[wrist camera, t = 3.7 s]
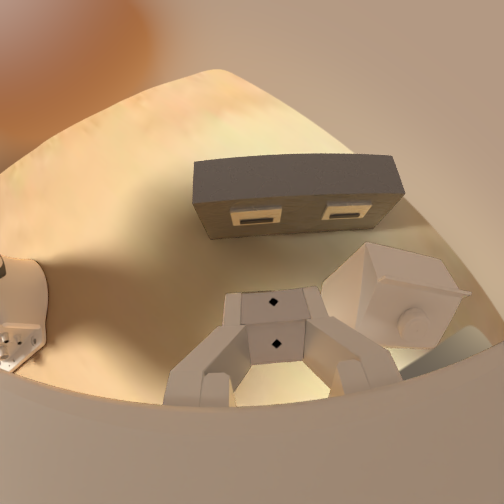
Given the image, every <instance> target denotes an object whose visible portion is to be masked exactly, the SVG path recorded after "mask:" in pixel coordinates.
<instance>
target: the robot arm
mask: <svg viewBox="0 0 504 504" xmlns="http://www.w3.org/2000/svg"><path fill="white" fill-rule="evenodd" d="M47 306H48V289H47V282H46V278H45V275H44V272H43V270H42V268H41V267H40V265H39V264H38V263H37V262H36V261H34V260H31V259H17V258H11V257H7V256H3V255H0V504H504V341H502V342H500V343H498V344H496V345H494V346H492V347H490V348H488V349H487V350H484V351H482V352H480V353H478V354H475V355H473V356H471V357H469V358H466V359H464V360H462V361H459V362H456V363H454V364H452V365H449V366H446V367H443V368H441V369H438V370H435V371H432V372H429V373H427V374H424V375H420V376H417V377H414V378H411V379H408V380H404V381H403V379H402V377H401V375H400V373H399V371H398V368H397V366H396V364H395V362H394V360H393V358H392V356H391V354H390V352H389V351H388V350H386V349H385V348H383V347H382V346H380V345H378V344H377V343H375V342H374V341H372V340H370V339H369V338H367V337H365V336H364V335H362V334H361V333H359V332H357V331H356V330H354V329H353V328H351V327H350V326H348V325H346V324H345V323H343V322H342V321H340V320H338V319H337V318H335V317H334V316H332V317H329V316H328V313H327V310H326V308H325V305H324V302H323V300H322V297H321V295H320V292H319V290H318V287H316V286H311V287H304V288H298V289H288V290H278V291H258V292H242V293H241V292H239V293H226V295H225V302H224V312H223V323H222V326H217V327H216V328H215V329H214V330H213V331H212V332H211V333H210V334H209V335H208V336H207V337H206V338H205V339H204V340H203V341H202V342H201V343H200V344H199V345H197V346H196V347H195V348H194V349H193V350H192V351H191V352H190V353H189V354H188V355H187V356H186V357H185V358H184V359H183V360H182V361H180V362H179V363H178V364H177V365H176V366H175V367H174V368H173V369H172V370H171V371H170V374H169V378H168V382H167V387H166V391H165V395H164V400H163V405H158V404H148V403H139V402H131V401H123V400H117V399H111V398H105V397H99V396H94V395H89V394H84V393H80V392H75V391H71V390H67V389H63V388H59V387H55V386H52V385H48V384H45V383H41V382H38V381H35V380H32V379H28V378H25V377H22V376H20V375H17V374H14V373H12V372H13V371H14V370H16V369H17V368H18V367H19V366H20V365H21V364H22V363H24V362H25V361H26V360H27V359H28V358H30V357H31V356H32V355H33V354H34V353H36V352H37V351H38V350H39V349H40V348H42V347H43V346H44V345H45V343H46V330H45V319H46V313H47ZM292 361H303V362H304V363H305V364H306V365H307V366H308V367H309V368H310V369H311V370H312V371H313V372H314V373H315V374H316V375H317V376H318V377H319V378H320V379H321V380H322V381H323V382H324V383H325V384H326V385H327V386H328V387H329V388H330V389H331V390H330V393H329V397H328V398H325V399H318V400H311V401H304V402H296V403H287V404H276V405H263V406H245V407H237V406H236V402H235V397H234V391H235V390H236V388H237V387H238V385H239V384H240V383H241V381H242V380H243V378H244V377H245V375H246V374H247V372H248V371H249V369H250V368H251V365H259V364H269V363H279V362H292Z"/></svg>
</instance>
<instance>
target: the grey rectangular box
mask: <svg viewBox="0 0 504 504" xmlns="http://www.w3.org/2000/svg"><path fill="white" fill-rule="evenodd" d="M404 194H405V191H404V188H403V185H402V183H401V179H400V176H399V174H398V171H397V168H396V165H395V163H394V160H393V157H392V156H387V155H369V154H282V155H262V156H248V157H235V158H224V159H214V160H205V161H197V162H194V176H193V202H192V204H193V206H194V208H195V210H196V212H197V214H198V216H199V218H200V220H201V222H202V224H203V226H204V228H205V230H206V232H207V234H208V236H209V238H210V239H222V238H235V237H248V236H262V235H276V234H290V233H305V232H321V231H337V230H354V229H372V228H374V227H375V226H376V225H377V224H378V223H379V222H380V221H381V220H382V219H383V218H384V216H385V215H386V214H387V213H388V212H389V211H390V210H391V209H392V208H393V207H394V206H395V204H396V203H397V202H398V201H399V200H400V199H401V198H402V197H403V196H404Z"/></svg>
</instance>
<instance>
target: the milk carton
mask: <svg viewBox="0 0 504 504" xmlns="http://www.w3.org/2000/svg"><path fill="white" fill-rule="evenodd" d="M470 295H472V292H469V291H464V290H459V288H458V286H457V285H456V283H455V281H454V280H453V278H452V276H451V275H450V273H449V272H448V270H447V268H446V267H445V265H444V264H443V262H442V261H441V260H440V259H437V258H433V257H429V256H425V255H421V254H417V253H413V252H409V251H404V250H400V249H396V248H392V247H388V246H383V245H379V244H374V243H370V242H365V243H364V244H363V245H362V246H361V247H360V248H359V249H358V250H357V251H356V252H355V253H354V254H353V255H352V256H351V257H350V258H348V259H347V260H346V261H345V262H344V263H343V264H342V265H341V266H340V267H339V268H338V269H337V270H336V271H335V272H333V273H332V274H331V275H330V276H329V277H328V278H327V279H326V280H325V281H324V282H323V284H322V290H321V297H322V300H323V302H324V305H325V308H326V310H327V313H328V316H329V317H332V316H334V317H335V318H337V319H338V320H340V321H342V322H343V323H345V324H346V325H348V326H350V327H351V328H353V329H354V330H356V331H357V332H359V333H361V334H362V335H364V336H365V337H367V338H369V339H370V340H372V341H374V342H375V343H377V344H378V345H380V346H382V347H385V348H413V349H431V348H435V347H436V346H437V344H438V343H439V341H440V339H441V338H442V336H443V334H444V332H445V331H446V329H447V327H448V325H449V323H450V322H451V320H452V318H453V316H454V314H455V312H456V310H457V308H458V306H459V304H460V302H461V300H462V298H463V297H466V296H470Z"/></svg>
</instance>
